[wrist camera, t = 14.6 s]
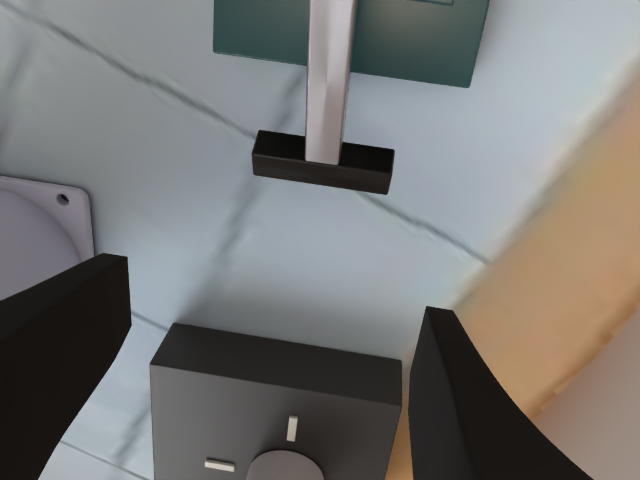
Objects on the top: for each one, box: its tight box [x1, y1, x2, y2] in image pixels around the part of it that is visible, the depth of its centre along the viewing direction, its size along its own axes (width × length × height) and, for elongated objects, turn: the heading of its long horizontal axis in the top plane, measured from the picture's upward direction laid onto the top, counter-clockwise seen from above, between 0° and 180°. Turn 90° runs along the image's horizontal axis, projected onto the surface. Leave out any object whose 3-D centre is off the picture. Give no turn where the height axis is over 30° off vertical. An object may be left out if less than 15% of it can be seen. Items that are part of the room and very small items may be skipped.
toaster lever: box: [252, 0, 395, 195], centre depth 15 cm, size 11×4×2 cm, turn 172°
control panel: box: [150, 323, 402, 480], centre depth 28 cm, size 11×9×3 cm
